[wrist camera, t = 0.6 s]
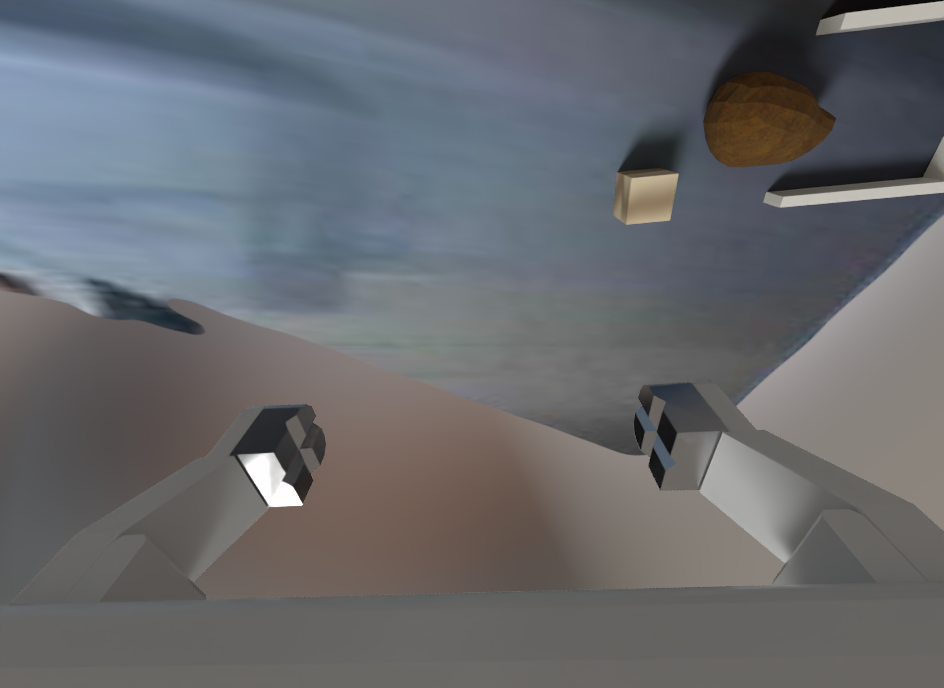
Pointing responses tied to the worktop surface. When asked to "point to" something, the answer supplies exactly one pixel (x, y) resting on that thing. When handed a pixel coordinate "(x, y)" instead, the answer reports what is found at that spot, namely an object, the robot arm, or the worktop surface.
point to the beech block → (644, 195)
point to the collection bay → (936, 179)
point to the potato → (763, 120)
